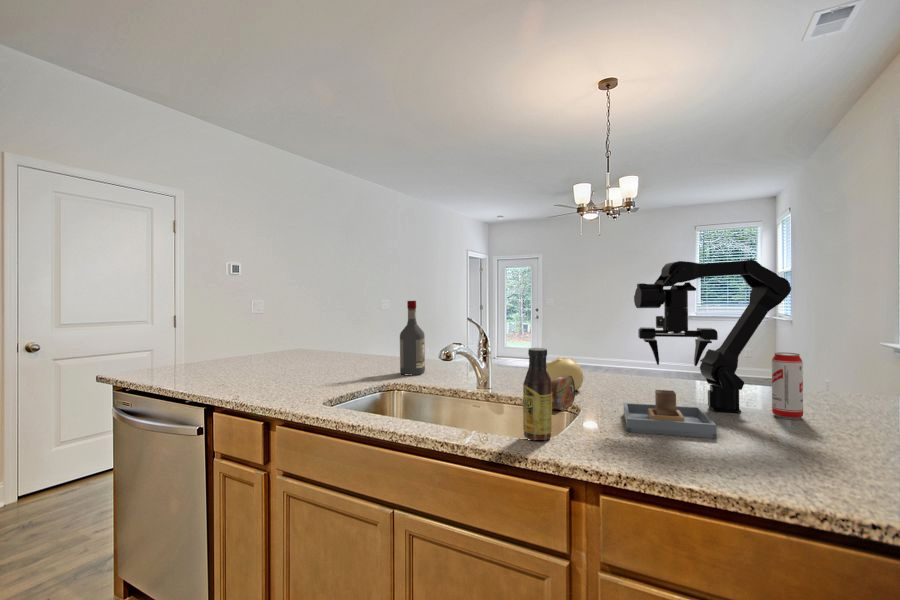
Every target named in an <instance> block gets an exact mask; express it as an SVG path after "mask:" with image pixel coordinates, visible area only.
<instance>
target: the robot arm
mask: <svg viewBox="0 0 900 600" xmlns="http://www.w3.org/2000/svg"><path fill="white" fill-rule="evenodd" d="M734 275H735V276H736V275H737V276H738V275H739V276H741V278H743V280H744V281H745V283H746V285H748V286H749V287H750V288H751V291H750V294H749V302H748V305H747V306H746V308H745V310H744V311H743V312H742V314H741V315H740V317H739V318H738V320H737V322H736V323H735V324H734V325H733V327H732V329H731V330H730V332H729V333H728V334H727V336H726V338H725V339H724V341H723V342H722V344H721V346H720V347H719V348H717V349H715V350H714V349H709V348H708V349H707V351H706V352H705V355H704V357H703V358H701V356H702V354H703V353H704V351H705V350H706V348H707V346H708V344H713V343H712V342H713V341H718V340H719V339H718V337H719V336H718V335H719V334H718V331H717V330H716V329H715V328H712V327H696V330H694V329H693V330H690V329H689V308H688V307H689V300H688V299H689V292H695V291H697V288H696V287H695V286H694V285H692V283H691V282H690V281H693V280H694V281H695V280H697V279H701V278H705V277H706V278H710V277H721V276H734ZM679 283H684V284H679ZM677 284H678V285H677ZM664 287H665V288H666V287H670V289H669V288H668V289H667V288H666V289H665V288H664ZM791 292H792V286H791V284H790V282H789V280H787V279H786V278H785V277H782V276H779V275H778V274H777V273H776V272H774V271H772V270H770V269H769V268H767V267H765V266H763V265H762V264H761V263H759V261H756V260H754V259H752V258H751V259H750V258H749V259H743V260H737V261H723V262H721V261H720V262H711V263H710V262H708V263H699V262H693V261H684V260H682V261H681V260H679V261H672V262H668V263H665V264H664V266H663V267H662V268H661V271H660V275H659V276H658V278H657V279H656V280H655V282H654V283H642V282H641V283H640V282H639V283H637V284H636V289H635V293H634V296H633V301H634V306H635V307H636V308H637V309H660V308H661V307H662V305H663V306H664V316H663V315H662V316H661V315H655V327H643V326H642V327H639V328H638V329H637V330H638V338H639V339H640V340H641V339H642V340H643V341H644V342H645V343H648V345H649V346H650V349H651V352H652V354H653V357H654V360H655V362H656V365H657V366H659V365H660V356H659V349H658V348H659V347H658V341H657V339H656V338H657V337H660V338H661V337H666V338H667V337H668V338H669V337H671V338H695V342H694V343H695V348H694V349H695V350H694V358H693V362H694V363H693V364H694V367H698V364H699V361H700V365H699V370H700V373H701V375H702V376H703V377H704V378H705V380H706V382H707V384H708V385H709V389H708V390H707V405H708V407H709V408H710V409H711V410H712V411H714V412H721V413H722V412H725V413H726V412H727V413H739V414H740V413H742V410H741V409H740V391H742V390H743V388H744V385H745V381H744V380H743V379H742V378H740V376H738V375H737V374H736V371H737V369H738V365H739V364H738V363H739V357H740V354H741V353H742V352H743V350H744V349H745V347H746V345H747V344H748V342H749V341H750V340H751V338H752V337H753V335H754V334H755V332H756V331H757V329H758V327H760V325H761V323H762V322H763V320H764V319H765V317H766V315H768V313H769V312H770V311H771V310H773V309H774V308H776V307H778V305H781V304H782V302H784V300H785V299H786V298H787V297H788V296H789V295H790V294H791Z"/></svg>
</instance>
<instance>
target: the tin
mask: <svg viewBox="0 0 900 600" xmlns="http://www.w3.org/2000/svg"><path fill="white" fill-rule="evenodd" d="M551 391H552V410H556V411H565V410H566V409H567V408H569V407H571V406H573V404H574V401H575V397H576V390H575V384H574V380H573V378H572V376H570V375H569V376H561V377H559V378H557V379H555V380H553V381H552V383H551Z"/></svg>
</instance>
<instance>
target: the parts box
mask: <svg viewBox="0 0 900 600" xmlns="http://www.w3.org/2000/svg"><path fill="white" fill-rule="evenodd" d="M623 417H624V423H625V428H626V431H627V433H636V434H637V433H638V434H639V433H640V434H650V435H652V434H653V435H654V434H655V435H661V436H662V435H663V436H664V435H665V436H675V437H676V436H677V437H691V438H703V439H704V438H705V439H716V440H717V438H718V437H717V424H716V423H715V422H714V421H713V419H712V418H711V417H710V416H709V415H708V414H707V413H706V412H705V411H704V410H703V408H702V407H701V406H686V405H676V416H665V415H656V406H655V404H653V403H651V404H650V403H638V402H637V403H635V402H633V403H632V402H623Z"/></svg>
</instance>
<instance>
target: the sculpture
mask: <svg viewBox="0 0 900 600" xmlns="http://www.w3.org/2000/svg"><path fill="white" fill-rule="evenodd" d="M546 366H547V368H546V371H547V372H548V374H549V376H550V378H551V382H552V381H553V380H555V379H557V378H559V377H561V376H569V375H570V376H572V378H573V380H574V384H575V391H578V390H579V389H580V388H581V387H582V386H583V383H584V371H583V370H582V368H581V365H579V364H578V363H577V361H576V360H574V359H573V358H568V357H557V358H556V359H554V360H552V361H548V362H546Z"/></svg>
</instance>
